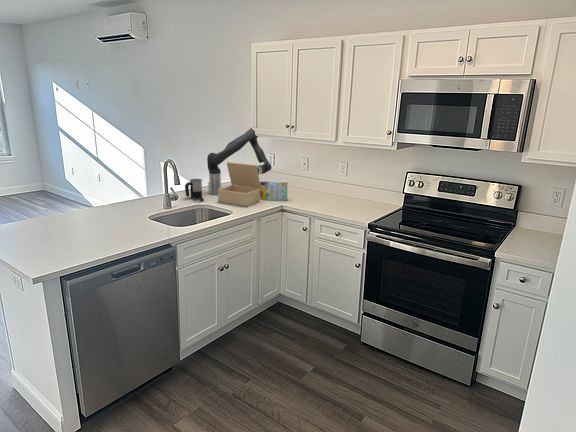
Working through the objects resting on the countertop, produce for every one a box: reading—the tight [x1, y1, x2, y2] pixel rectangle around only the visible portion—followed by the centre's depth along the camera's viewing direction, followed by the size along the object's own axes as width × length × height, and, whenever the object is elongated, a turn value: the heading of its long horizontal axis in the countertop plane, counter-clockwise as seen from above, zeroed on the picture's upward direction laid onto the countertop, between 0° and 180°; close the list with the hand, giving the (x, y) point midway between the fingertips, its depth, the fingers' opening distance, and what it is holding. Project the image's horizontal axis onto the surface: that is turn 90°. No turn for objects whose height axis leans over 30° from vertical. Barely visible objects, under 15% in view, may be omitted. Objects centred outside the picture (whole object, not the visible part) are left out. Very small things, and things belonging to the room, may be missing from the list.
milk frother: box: [184, 178, 205, 202], centre depth 300 cm, size 14×16×15 cm
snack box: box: [259, 179, 289, 202], centre depth 305 cm, size 21×6×15 cm, turn 84°
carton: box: [217, 184, 260, 208], centre depth 296 cm, size 25×19×10 cm
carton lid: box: [226, 161, 261, 189], centre depth 297 cm, size 26×20×1 cm
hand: (244, 174), depth 298 cm, fingers closed
